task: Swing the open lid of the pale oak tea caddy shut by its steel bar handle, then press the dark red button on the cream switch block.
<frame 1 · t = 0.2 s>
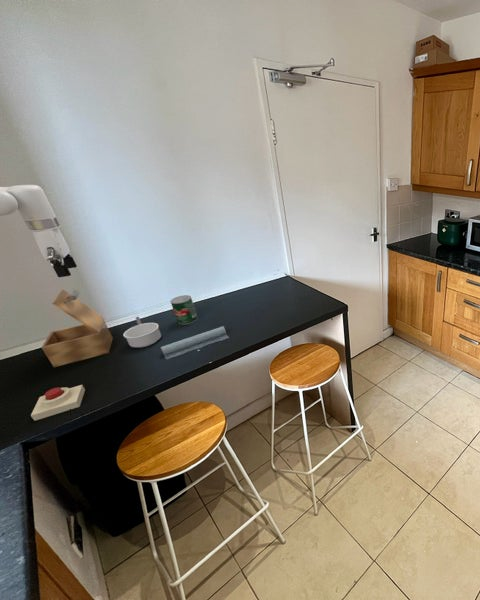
hand: (68, 271, 112), 32 cm above the countertop, tool pointing down, fingers open, 9 cm apart
switch block: (61, 404, 98), on the countertop
start button: (54, 393, 96), point 4 cm above the countertop, slide at 0.1 cm
saucepan: (145, 337, 132), on the countertop
aluminum foil: (197, 345, 127), on the countertop
canned tomato: (188, 320, 144), on the countertop
caddy: (85, 351, 123), on the countertop
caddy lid: (85, 308, 118), point 18 cm above the countertop, hinge at 65.0°
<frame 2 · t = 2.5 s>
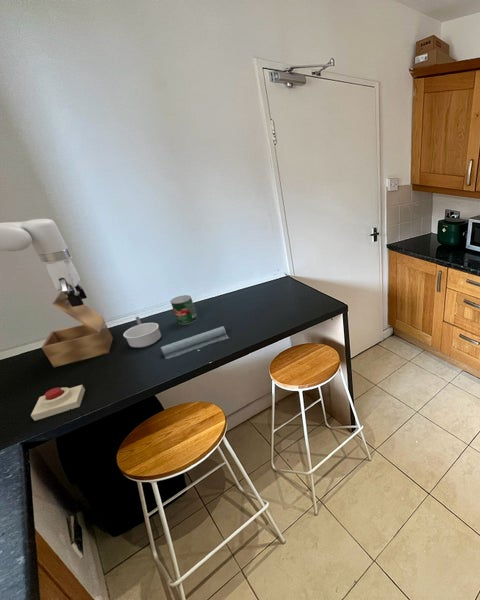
hand: (79, 301, 116), 21 cm above the countertop, tool pointing down, fingers closed on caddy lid, 5 cm apart
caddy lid: (85, 308, 118), point 18 cm above the countertop, hinge at 65.0°, touching gripper
everything else where it was.
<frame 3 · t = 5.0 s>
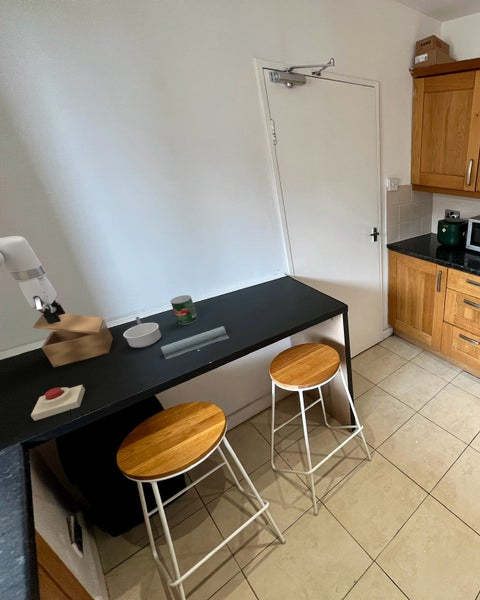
hand: (57, 318, 114), 16 cm above the countertop, tool pointing down, fingers closed on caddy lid, 5 cm apart
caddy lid: (72, 317, 117), point 15 cm above the countertop, hinge at 27.9°, touching gripper
everything else where it was.
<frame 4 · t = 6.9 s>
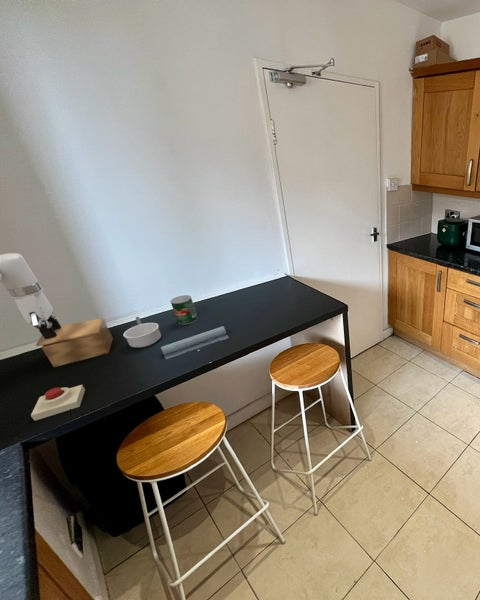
hand: (53, 332, 115), 11 cm above the countertop, tool pointing down, fingers closed on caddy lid, 5 cm apart
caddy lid: (70, 326, 117), point 12 cm above the countertop, hinge at 2.7°, touching gripper
everything else where it was.
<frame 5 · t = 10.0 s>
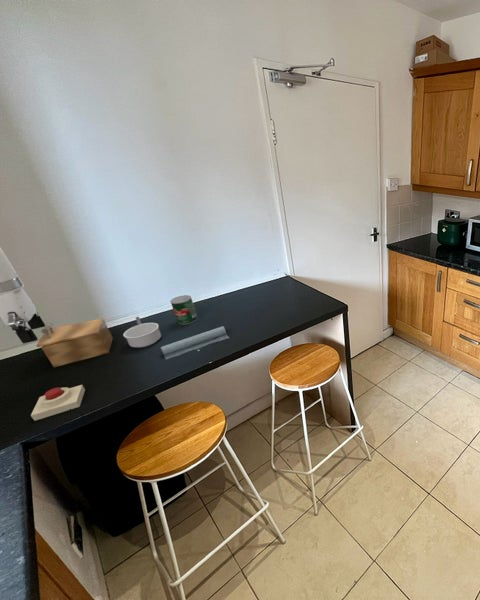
hand: (34, 334, 100), 19 cm above the countertop, tool pointing down, fingers open, 9 cm apart
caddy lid: (70, 327, 117), point 11 cm above the countertop, hinge at 1.4°
everything else where it was.
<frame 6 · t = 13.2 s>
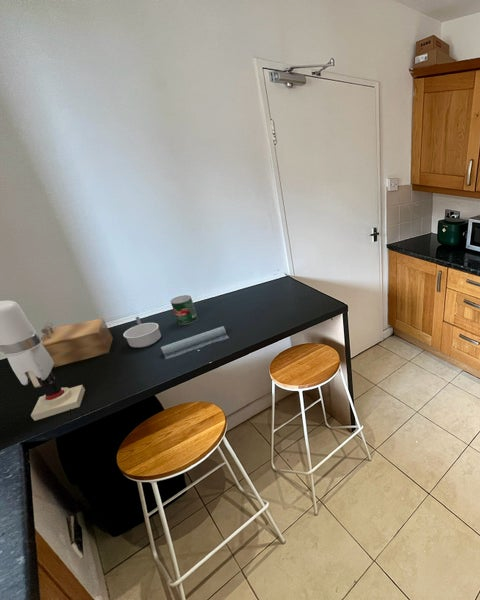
hand: (54, 392, 96), 5 cm above the countertop, tool pointing down, fingers closed
start button: (54, 394, 96), point 4 cm above the countertop, slide at -0.3 cm, touching gripper
everything else where it was.
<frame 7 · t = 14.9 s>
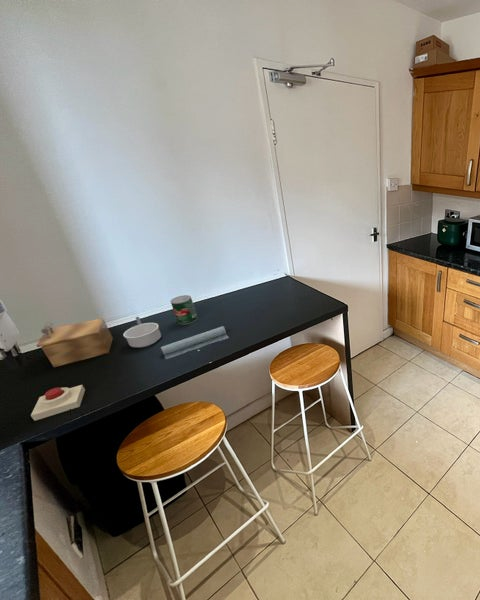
hand: (19, 366, 89), 16 cm above the countertop, tool pointing down, fingers closed
start button: (54, 393, 96), point 4 cm above the countertop, slide at 0.1 cm
everything else where it was.
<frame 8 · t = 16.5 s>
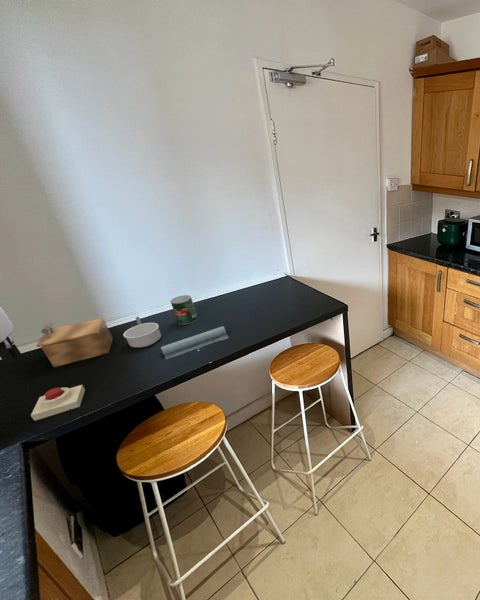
hand: (13, 358, 88), 19 cm above the countertop, tool pointing down, fingers closed
nothing on the countertop moved.
at the end: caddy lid at +1° (first picture: +65°); start button pushed in 1.1 cm at the most during the clip, back to where it started at the end; start button slide at 0.1 cm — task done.
